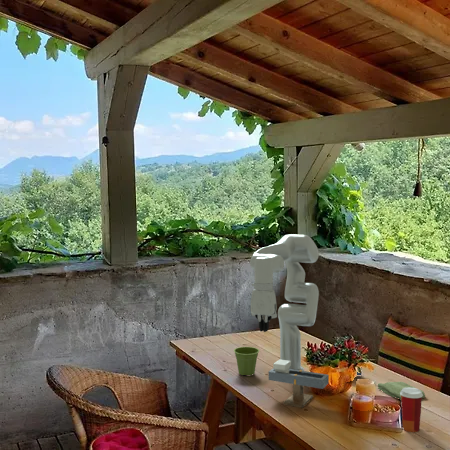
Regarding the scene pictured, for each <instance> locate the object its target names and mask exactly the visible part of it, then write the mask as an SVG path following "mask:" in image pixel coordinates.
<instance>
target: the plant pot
mask: <svg viewBox="0 0 450 450" xmlns="http://www.w3.org/2000/svg"><path fill="white" fill-rule="evenodd" d="M233 352H234V355H235V358H236V364H237V371H238V375H239V374H241V375H252V374H254V375H255V372H256V367H257V359H258V355H259V352H260V349H259V348H257V347H253V346H240V347H236V348H234V349H233ZM241 375H240V376H241ZM252 376H253V375H252Z"/></svg>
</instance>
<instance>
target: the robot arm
mask: <svg viewBox="0 0 450 450" xmlns="http://www.w3.org/2000/svg"><path fill="white" fill-rule="evenodd" d="M318 259H319V248H318V247H317V245H316V243H315V242H314V240H313V239H312V238H311V237H310V236H309V235H307V234H296V233H295V234H294V233H293V234H292V233H291V234H285V235H283V236H282V237H281V238H280V239H279V240H278V241H277V242H276V243H274V244H270V245H268V246H264V247H261V248H259V249H257V250H256V251H254V253H253V254H252V255H251V258H250V260H249V261H250V262H249V264H250V268H251V270H252V271H253V272H254V282H253V283H251V287H253V288H254V289H252V291H251V292H252V293H251V298H250V299H251V300H250V315H251V316H252V317H255V318H256V319H257V321H258V322H259V323H258V326H259V327H258V328H259V332H264V333H266V332H268V331H269V329H270V321H271V320H272V319H276V318H278V323H279V336H280V338H279V339H280V340H279V344H280V345H279V347H280V348H279V349H280V351H279V352H280V353H279V356H280V358H279V359H281V360H288V361H291V366H290V367H289V369H294V370H302V371H305V368H304V367H303V366H302V364H301V363H302V362H301V360H302V359H301V358H302V355H301V353H302V351H301V350H302V347H301V345H302V344H301V342H302V337H301V336H302V333H301V331H300V329H299V327H298V326H301V327H312V326H314V324H315V322H316V318H317V312H318V303H319V295H320V291H319V287H318V286H317V284H316V283H313V282H305V280H306V279H305V278H306V272H305V269H304V268H303V266H302V265H301V264H300V263H303V264H304V263H305V264H313V263H316V262H317V261H318ZM284 267H286V270H287V272H286V273H287V274H286V276H287V277H286V281H285V288H284V299H285V300H286V301H288V302H290V303H283V304H281V305H280V306H279V308H278V310H277V298H276V292H275V290H274V273H281V272H282V271H283V269H284ZM292 302H293V303H292ZM297 303H301V304H297Z"/></svg>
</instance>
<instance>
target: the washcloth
mask: <svg viewBox="0 0 450 450" xmlns="http://www.w3.org/2000/svg"><path fill="white" fill-rule="evenodd" d="M377 387H378V388H377V390H378V389H380V390H382V391H383V392H382V391H381V392H382V393H384V392H385V393H384V394H386V395H388V396H389V395H390V397H391V398H393V397H396V398H399V399H400V400H401V395H400V392H401V391H402V389H403V388H407V387H411V388H416V387H415V386H413V385H410V384H408V383H406V382H405V381H388V382H384V383H382V382H378V383H377ZM380 390H379V391H380ZM419 390H420V391H421V392H422V394H423V396H422V399H424V398H426V394H425V392H424V391H423V390H421V389H419Z"/></svg>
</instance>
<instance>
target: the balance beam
mask: <svg viewBox="0 0 450 450" xmlns="http://www.w3.org/2000/svg"><path fill="white" fill-rule="evenodd" d="M329 377H330V376H329V374H326V373H325V374H324V373H320V372H313V371H306V370H304V371H302V370H294V369H289V373H284V372H277V371H275V369H274V368H273V367H272V368H271V369H270V370H269V371H268V381H272V382H278V383H285V384H289V385H290V384H292V394H291V395H290V396H289V397H288V398H286V399H285V400H284V401H283V405H284V404H285V405H286V406H289V405H290V406H289V407H296V408H301V409H302V408H304V407H306V405H307V404H308V403H309V402H310V401H311V400H312V399H313V398H314V395H313V394H306V393H305V392H304V390H305V389H304V387H309V388H310V387H311V388H315V389H322V390H323V389H325V388H326V387H327V385H328V384H329V383H330V381H329V379H330V378H329Z"/></svg>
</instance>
